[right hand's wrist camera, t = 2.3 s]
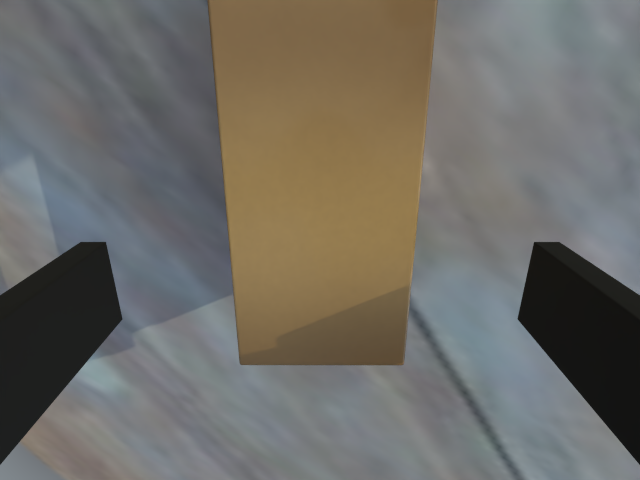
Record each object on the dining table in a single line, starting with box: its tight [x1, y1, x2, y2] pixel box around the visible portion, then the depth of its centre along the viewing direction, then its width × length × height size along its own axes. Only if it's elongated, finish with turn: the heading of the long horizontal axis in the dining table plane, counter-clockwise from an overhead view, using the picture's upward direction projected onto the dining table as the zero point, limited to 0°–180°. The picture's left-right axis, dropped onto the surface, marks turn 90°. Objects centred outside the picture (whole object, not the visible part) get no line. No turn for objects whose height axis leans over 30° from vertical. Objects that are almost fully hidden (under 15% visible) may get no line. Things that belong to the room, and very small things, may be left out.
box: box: [207, 0, 438, 365], centre depth 16 cm, size 21×6×12 cm, turn 0°
